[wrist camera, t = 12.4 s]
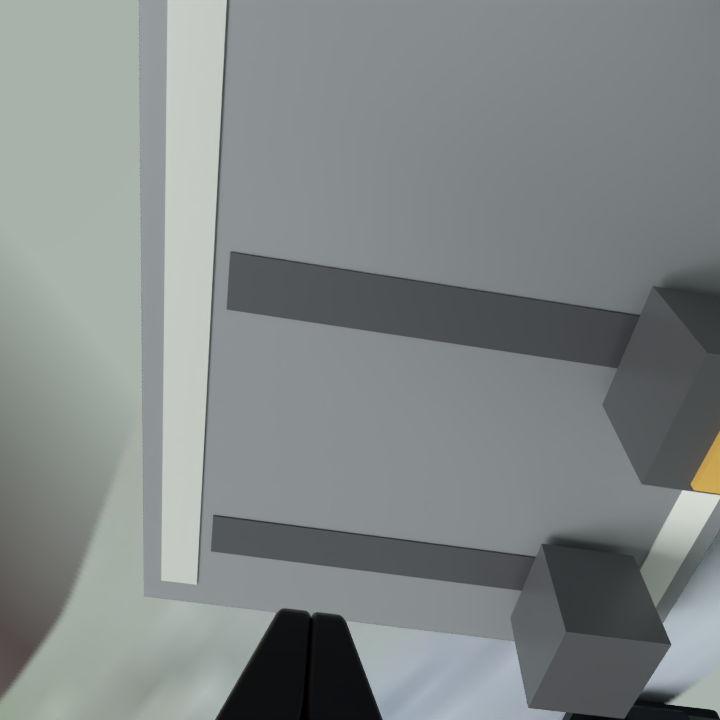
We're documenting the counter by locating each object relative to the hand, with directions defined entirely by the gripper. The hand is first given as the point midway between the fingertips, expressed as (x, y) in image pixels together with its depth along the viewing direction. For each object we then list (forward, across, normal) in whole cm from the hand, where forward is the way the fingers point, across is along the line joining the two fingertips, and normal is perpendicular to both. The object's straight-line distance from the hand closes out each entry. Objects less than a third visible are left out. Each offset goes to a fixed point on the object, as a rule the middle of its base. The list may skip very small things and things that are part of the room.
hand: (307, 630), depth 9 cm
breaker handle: (+10, -9, 0) cm, 13 cm away
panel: (+12, -4, 0) cm, 13 cm away
